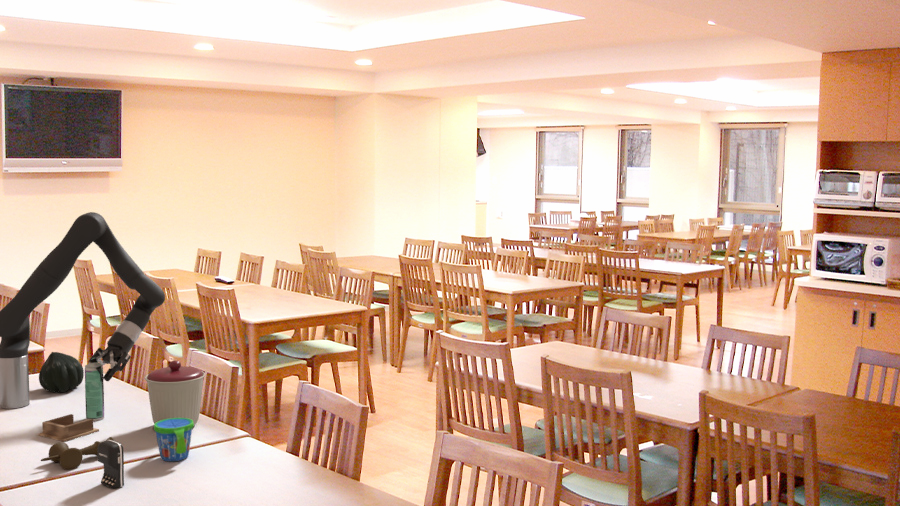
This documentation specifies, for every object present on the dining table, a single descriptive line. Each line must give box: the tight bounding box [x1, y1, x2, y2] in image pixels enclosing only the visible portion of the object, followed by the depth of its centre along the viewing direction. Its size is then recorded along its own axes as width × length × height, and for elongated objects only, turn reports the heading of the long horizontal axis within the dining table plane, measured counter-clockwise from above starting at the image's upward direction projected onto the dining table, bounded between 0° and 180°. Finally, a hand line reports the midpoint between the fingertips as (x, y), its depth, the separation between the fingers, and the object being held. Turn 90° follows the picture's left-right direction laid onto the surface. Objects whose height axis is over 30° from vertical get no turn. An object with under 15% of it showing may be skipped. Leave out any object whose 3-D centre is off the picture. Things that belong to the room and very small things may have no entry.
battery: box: [96, 439, 125, 489], centre depth 210 cm, size 7×4×11 cm, turn 54°
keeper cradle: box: [38, 413, 100, 443], centre depth 252 cm, size 12×12×4 cm
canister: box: [144, 360, 206, 426], centre depth 259 cm, size 18×18×21 cm
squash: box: [38, 351, 85, 393], centre depth 300 cm, size 14×15×15 cm
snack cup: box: [153, 418, 195, 462], centre depth 231 cm, size 16×10×10 cm
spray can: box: [84, 357, 105, 422], centre depth 266 cm, size 6×6×20 cm
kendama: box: [40, 436, 116, 471], centre depth 227 cm, size 6×10×20 cm
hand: (96, 378), depth 266 cm, fingers open, 8 cm apart
